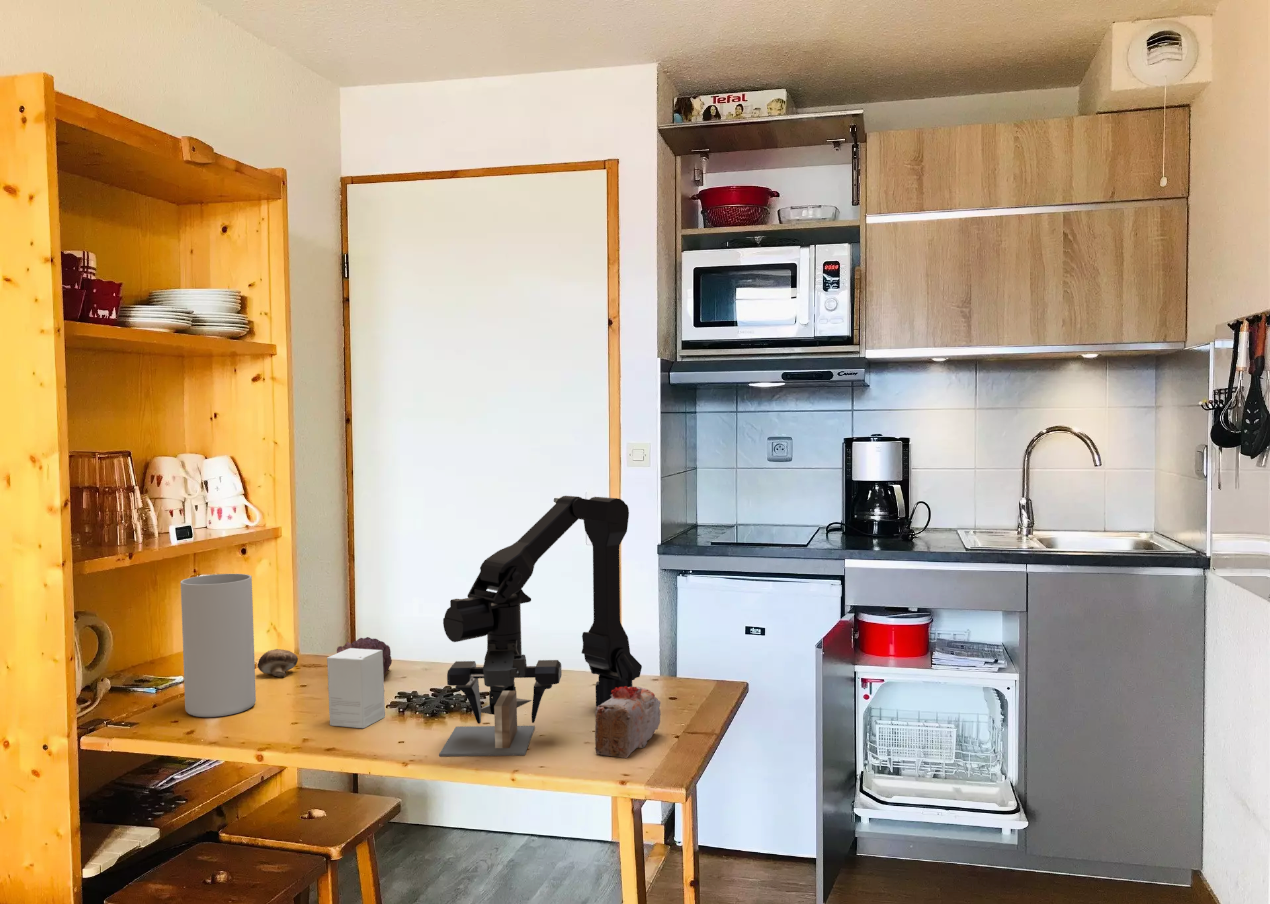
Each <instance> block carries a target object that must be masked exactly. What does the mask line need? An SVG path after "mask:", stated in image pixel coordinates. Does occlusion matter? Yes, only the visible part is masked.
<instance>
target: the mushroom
mask: <svg viewBox="0 0 1270 904" xmlns="http://www.w3.org/2000/svg"><path fill="white" fill-rule="evenodd" d="M298 661H299V658H298V656H297V654H295V653H294V652H293V651H291V650H287V649H278V648H275V649H271V650H268V651H266V652H265V653H263V654H262V655H261V657H260V658H259V659H258V663H257V669H258V670H259V671H260V672H261V673H263V674H268V675H269V674H271V675H272V676H275V677H278V678H283V677H286V676H287V675H286V672H288V671H289V670H290V671H291V670H292V669H294V668H295V667H296V665H297V663H298Z"/></svg>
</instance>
